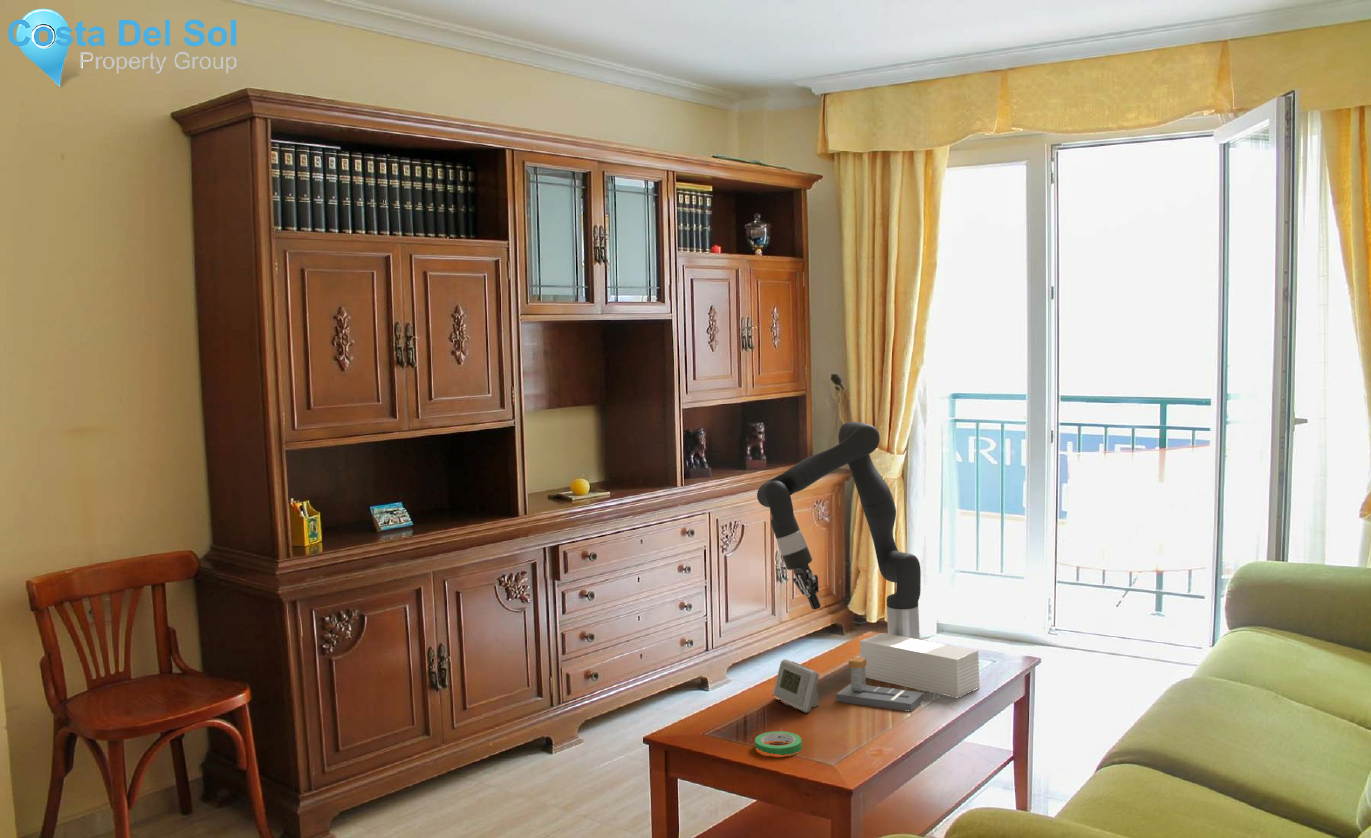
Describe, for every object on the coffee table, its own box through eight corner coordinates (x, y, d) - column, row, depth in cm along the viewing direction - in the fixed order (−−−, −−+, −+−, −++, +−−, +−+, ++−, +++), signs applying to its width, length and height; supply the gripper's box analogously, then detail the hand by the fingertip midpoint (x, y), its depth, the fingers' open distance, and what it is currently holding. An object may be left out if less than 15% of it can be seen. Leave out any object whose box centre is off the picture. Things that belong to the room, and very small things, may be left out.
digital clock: (771, 698, 288) (769, 660, 288) (801, 694, 291) (799, 656, 290) (793, 716, 273) (792, 676, 272) (825, 711, 275) (824, 671, 275)
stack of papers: (979, 689, 287) (978, 650, 287) (958, 699, 280) (956, 659, 280) (883, 668, 311) (882, 632, 310) (861, 677, 304) (859, 640, 303)
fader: (855, 686, 287) (853, 657, 287) (867, 688, 285) (866, 658, 285) (849, 690, 284) (848, 660, 284) (862, 692, 282) (861, 662, 282)
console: (851, 690, 291) (850, 682, 291) (924, 700, 280) (924, 692, 280) (836, 701, 283) (835, 693, 283) (911, 711, 272) (911, 703, 272)
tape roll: (811, 748, 251) (810, 737, 251) (782, 762, 243) (782, 751, 243) (774, 738, 259) (774, 727, 258) (745, 752, 251) (745, 741, 250)
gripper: (814, 543, 288) (837, 603, 287) (796, 545, 300) (818, 603, 299) (791, 553, 285) (814, 614, 284) (773, 555, 298) (796, 613, 297)
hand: (816, 608), depth 292 cm, fingers closed
